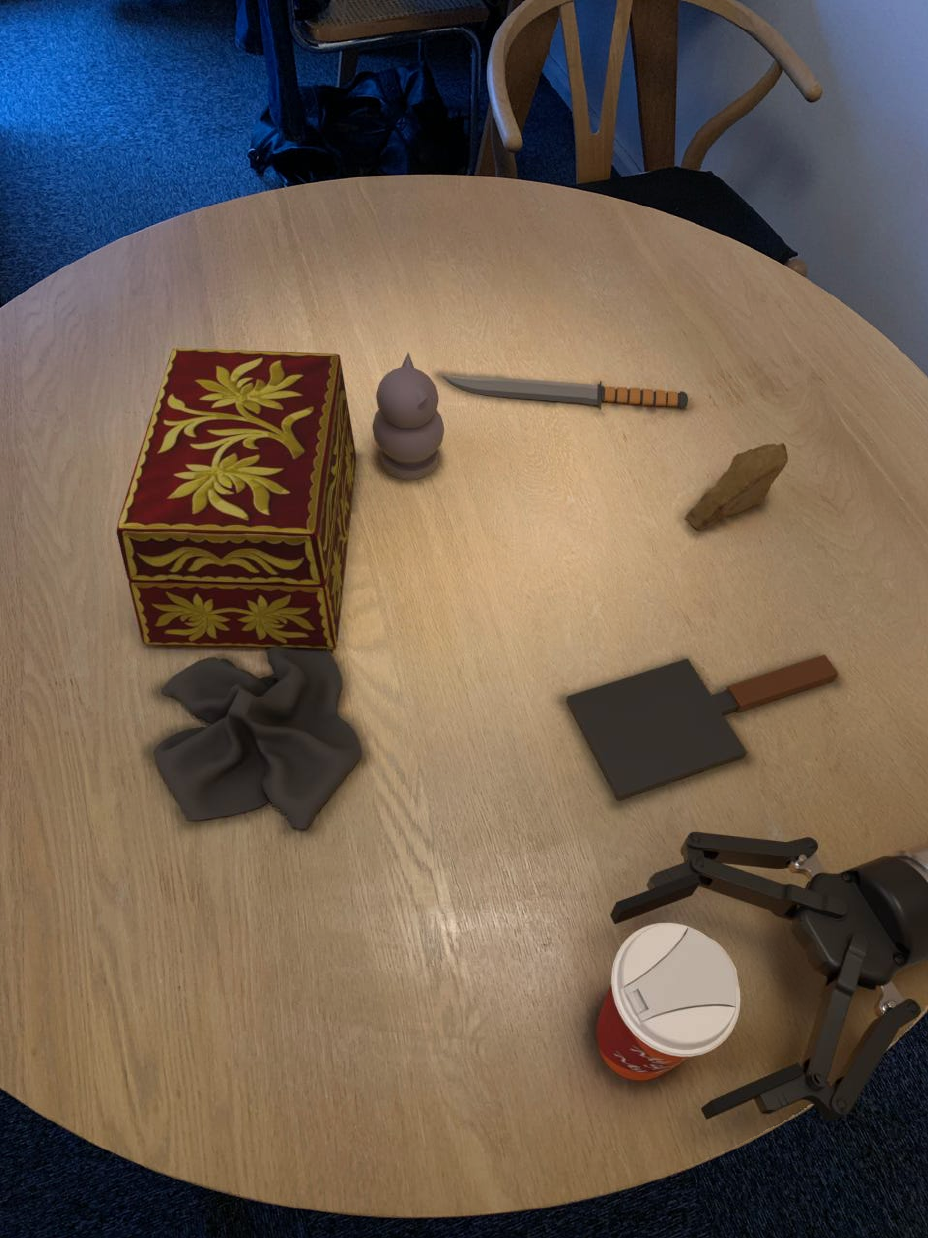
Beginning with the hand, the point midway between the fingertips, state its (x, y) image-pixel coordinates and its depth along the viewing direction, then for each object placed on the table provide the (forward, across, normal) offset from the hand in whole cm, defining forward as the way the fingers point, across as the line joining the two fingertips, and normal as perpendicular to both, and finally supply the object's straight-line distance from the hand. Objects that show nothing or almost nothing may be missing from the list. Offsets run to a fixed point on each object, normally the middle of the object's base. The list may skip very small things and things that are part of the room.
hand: (658, 1006), depth 64 cm
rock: (-35, +47, -9) cm, 59 cm away
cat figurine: (-4, +64, -9) cm, 65 cm away
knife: (-25, +69, -9) cm, 74 cm away
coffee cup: (0, 0, -9) cm, 9 cm away
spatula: (-20, +24, -8) cm, 32 cm away
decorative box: (+15, +57, -8) cm, 60 cm away
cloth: (+20, +36, -9) cm, 42 cm away
